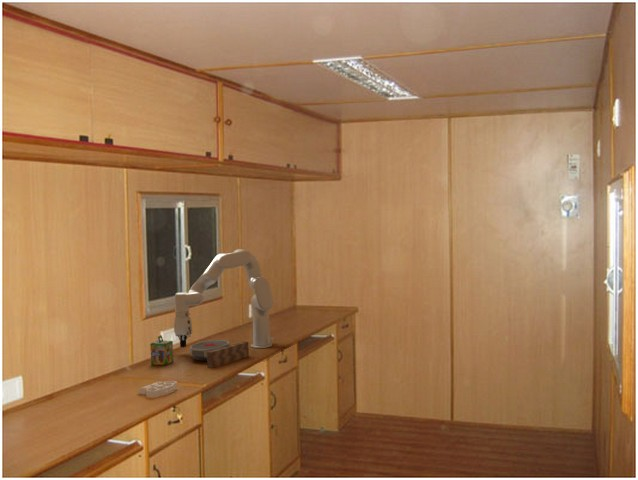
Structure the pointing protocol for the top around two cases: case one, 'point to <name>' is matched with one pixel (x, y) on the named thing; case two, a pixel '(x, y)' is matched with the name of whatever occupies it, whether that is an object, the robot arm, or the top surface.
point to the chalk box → (161, 352)
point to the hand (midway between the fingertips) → (183, 346)
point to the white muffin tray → (158, 389)
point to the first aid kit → (206, 348)
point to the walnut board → (227, 354)
